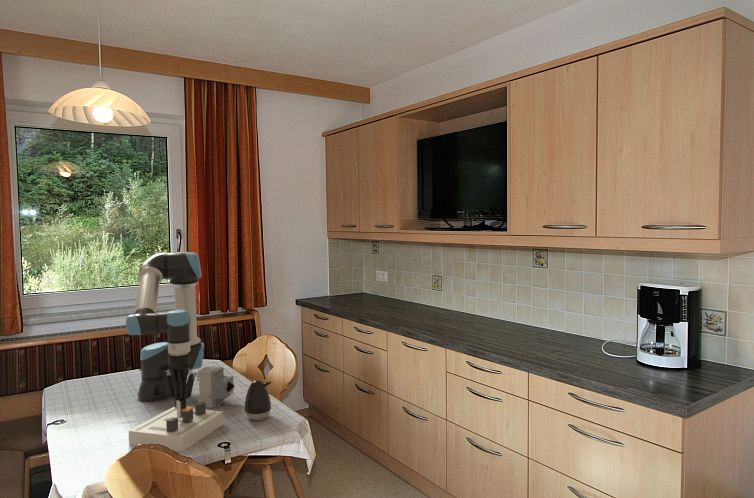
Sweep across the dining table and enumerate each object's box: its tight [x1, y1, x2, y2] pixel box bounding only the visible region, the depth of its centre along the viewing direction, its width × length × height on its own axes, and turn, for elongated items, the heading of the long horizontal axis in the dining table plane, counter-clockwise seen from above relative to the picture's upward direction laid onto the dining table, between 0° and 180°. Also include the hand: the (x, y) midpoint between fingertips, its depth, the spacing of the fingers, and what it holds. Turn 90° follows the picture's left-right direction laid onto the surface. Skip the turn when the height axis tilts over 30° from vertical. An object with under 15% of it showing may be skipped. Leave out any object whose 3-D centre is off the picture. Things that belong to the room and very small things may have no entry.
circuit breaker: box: [196, 365, 235, 408], centre depth 217 cm, size 8×14×15 cm, turn 78°
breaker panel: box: [128, 402, 224, 453], centre depth 186 cm, size 22×24×9 cm
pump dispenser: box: [244, 379, 272, 422], centre depth 200 cm, size 10×10×15 cm
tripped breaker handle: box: [182, 406, 194, 423], centre depth 185 cm, size 2×3×5 cm
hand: (180, 417), depth 186 cm, fingers closed
